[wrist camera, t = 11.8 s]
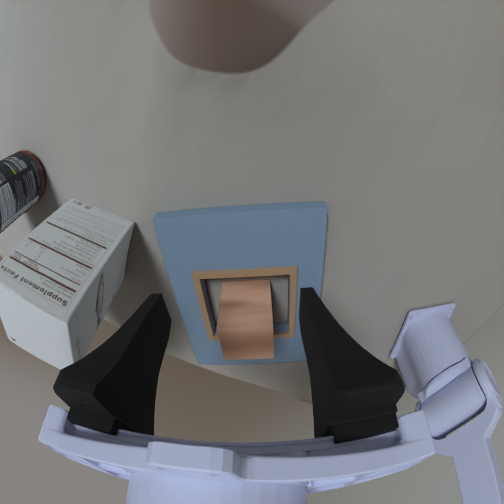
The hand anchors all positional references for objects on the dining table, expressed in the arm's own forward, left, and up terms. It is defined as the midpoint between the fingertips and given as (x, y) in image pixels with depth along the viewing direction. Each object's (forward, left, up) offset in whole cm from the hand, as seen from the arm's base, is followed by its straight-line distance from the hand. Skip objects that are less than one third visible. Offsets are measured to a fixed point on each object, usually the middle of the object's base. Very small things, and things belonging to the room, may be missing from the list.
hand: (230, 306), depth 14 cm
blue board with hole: (-9, 0, -10) cm, 14 cm away
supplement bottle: (+7, +21, -11) cm, 25 cm away
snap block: (-9, 0, -10) cm, 14 cm away
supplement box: (-1, +14, -11) cm, 18 cm away
